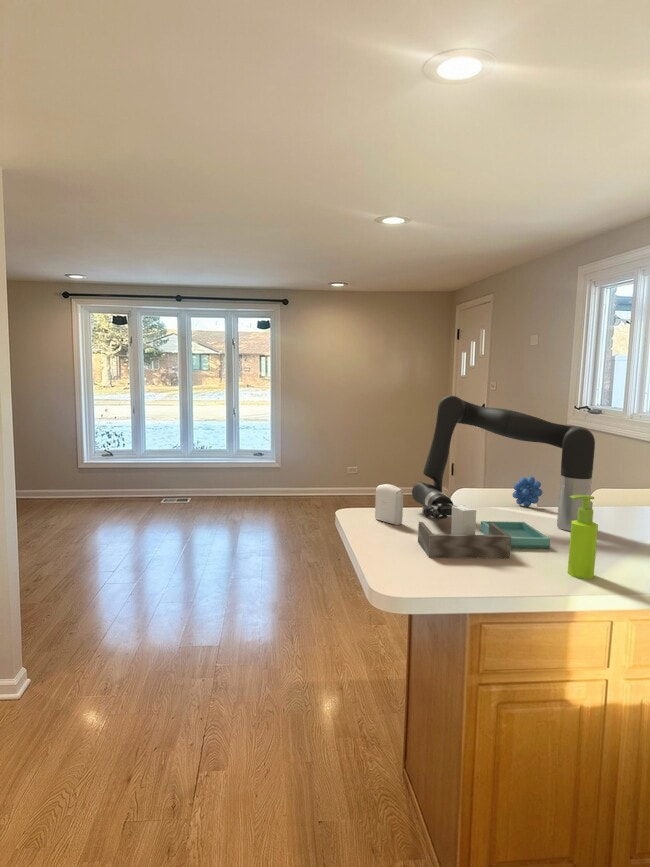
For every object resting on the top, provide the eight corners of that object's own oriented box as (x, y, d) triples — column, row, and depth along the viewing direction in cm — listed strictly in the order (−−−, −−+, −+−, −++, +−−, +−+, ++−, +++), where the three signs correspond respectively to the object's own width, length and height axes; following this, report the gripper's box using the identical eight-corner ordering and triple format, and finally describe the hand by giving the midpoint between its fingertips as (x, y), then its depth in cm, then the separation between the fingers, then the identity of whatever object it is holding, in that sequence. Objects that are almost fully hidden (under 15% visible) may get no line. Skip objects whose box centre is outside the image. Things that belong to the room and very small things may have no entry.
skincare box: (475, 552, 148) (478, 509, 146) (461, 554, 146) (464, 510, 145) (462, 546, 153) (464, 504, 152) (449, 547, 152) (451, 505, 150)
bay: (491, 542, 157) (493, 523, 156) (509, 558, 144) (511, 536, 143) (417, 541, 156) (418, 521, 155) (428, 557, 142) (430, 535, 142)
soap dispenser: (559, 570, 135) (564, 492, 133) (585, 570, 136) (591, 493, 134) (571, 579, 130) (578, 498, 128) (598, 578, 130) (605, 498, 128)
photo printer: (372, 519, 180) (374, 482, 179) (381, 517, 183) (383, 481, 182) (395, 526, 172) (396, 488, 171) (404, 524, 175) (405, 486, 174)
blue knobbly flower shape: (546, 508, 203) (548, 477, 202) (537, 510, 199) (540, 479, 198) (517, 502, 212) (519, 472, 211) (508, 504, 207) (510, 474, 206)
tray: (523, 531, 171) (524, 521, 170) (549, 548, 153) (550, 538, 153) (480, 530, 170) (480, 521, 170) (501, 548, 152) (502, 538, 152)
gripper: (417, 492, 175) (429, 504, 159) (460, 493, 175) (476, 505, 159) (416, 515, 176) (428, 529, 159) (459, 516, 176) (475, 529, 160)
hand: (452, 517), depth 159 cm, fingers open, 8 cm apart
